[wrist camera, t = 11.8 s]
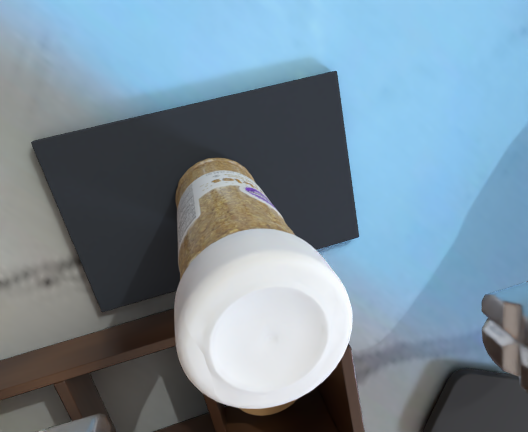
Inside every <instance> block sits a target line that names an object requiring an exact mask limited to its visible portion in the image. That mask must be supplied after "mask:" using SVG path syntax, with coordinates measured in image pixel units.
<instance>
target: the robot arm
mask: <svg viewBox="0 0 528 432" xmlns="http://www.w3.org/2000/svg"><path fill="white" fill-rule="evenodd" d="M482 312H483V313H484V314H485V315H486V316H487V317H488V319H487V321H486V322H485V324H484V326H483V327H482V339H483V343H484V346H485V348H486V350H487V353H488V354H489V356H490V357H491V359H492V360H493V361H494V363H495V364H496V365H498V366H499V367H500V368H501V369H502V370H503V371H504V372H507V373H510V374H513V375H516V376H518V377H519V381H520V386H521V388H523V389H524V390H525V391H526V392H527V393H528V281H527V282H524V283H521V284H518V285H515V286H511V287H508V288H505V289H502V290H499V291H496V292H492V293H489V294H486V295H485V296H484V298H483V300H482ZM111 428H112V427H111V425H110V423H109V421H108V419H107V417H106V415H104V414H100V413H99V414H96V415H92V416H89V417H85V418H82V419H78V420H74V421H71V422H67V423H64V424H60V425H57V426H53V427H50V428H48V429H45V430H41V431H37V432H111Z"/></svg>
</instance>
